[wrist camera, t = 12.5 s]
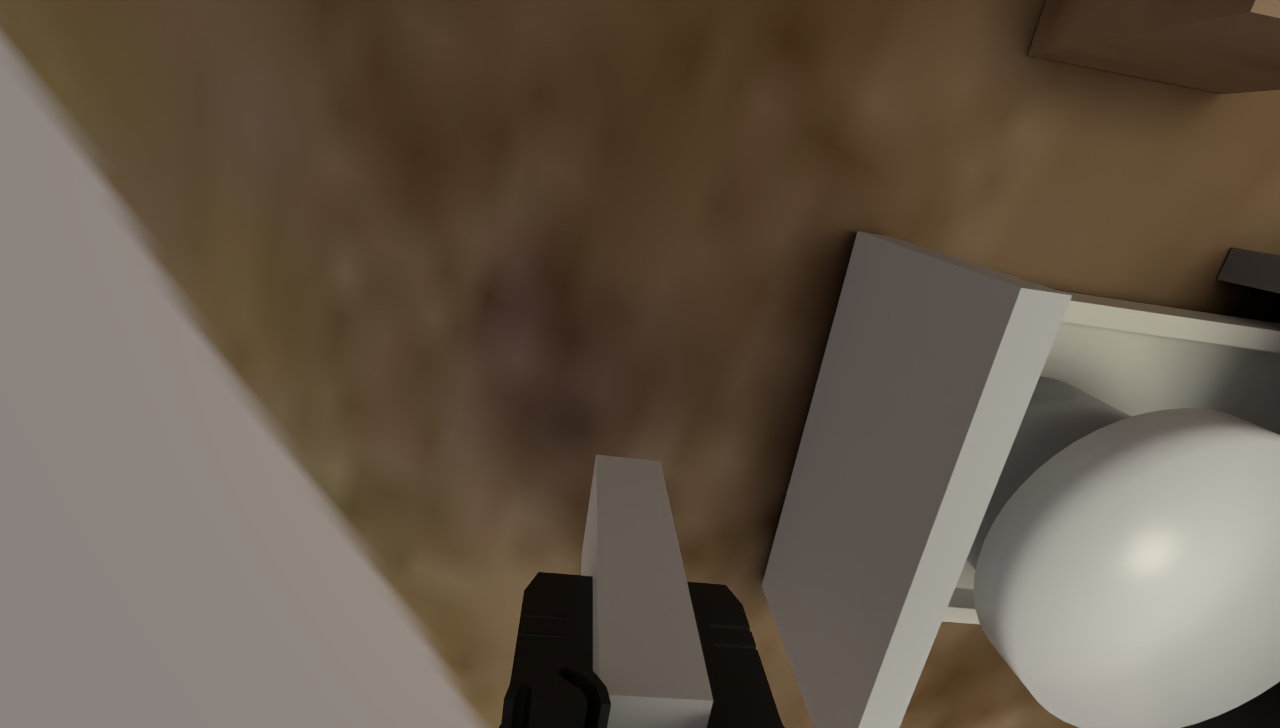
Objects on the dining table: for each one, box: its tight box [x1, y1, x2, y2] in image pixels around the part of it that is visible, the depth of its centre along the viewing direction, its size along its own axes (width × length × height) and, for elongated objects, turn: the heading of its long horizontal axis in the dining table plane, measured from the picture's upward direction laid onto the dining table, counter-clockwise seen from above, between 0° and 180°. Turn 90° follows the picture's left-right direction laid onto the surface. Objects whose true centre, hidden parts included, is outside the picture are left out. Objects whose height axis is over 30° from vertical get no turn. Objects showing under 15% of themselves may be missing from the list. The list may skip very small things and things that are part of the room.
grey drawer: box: [762, 231, 1280, 728], centre depth 17 cm, size 13×16×7 cm
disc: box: [974, 408, 1280, 728], centre depth 14 cm, size 8×8×2 cm
